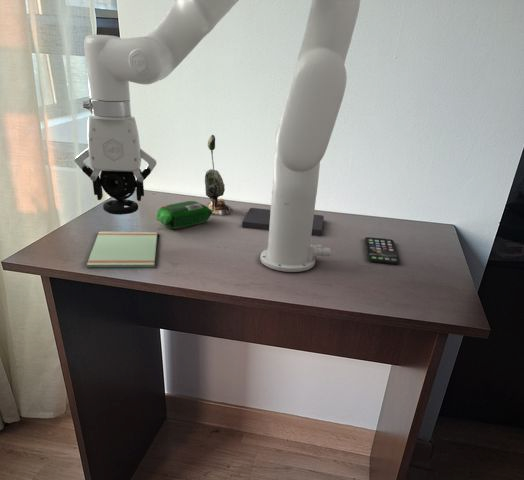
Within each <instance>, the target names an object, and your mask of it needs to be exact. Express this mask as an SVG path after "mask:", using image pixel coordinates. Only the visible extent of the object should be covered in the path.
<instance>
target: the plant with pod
mask: <svg viewBox="0 0 524 480" xmlns="http://www.w3.org/2000/svg"><path fill="white" fill-rule="evenodd" d="M207 147H208V150H209V151H210V153H211V154H210V155H211V163H212V168H210V169H209V170H206V169H205V170H204V171H205V175H204V185H205V187H204V188H205V196H206V197H207V198H208V199H210V202H209V203H208V204H207V205H206V206H207V207H208V208H209V209H211V210H212V214H211V215H216V216H222V215H223V216H224V215H226V214H229V213H230V212H231V207H230V205H228V204H226V202H225V200H224V199H223V198H220V197H223V196H224V195H225V194H224V193H225V190H226V188H225V187H226V186H225V185H226V184H225V182H224V179H223V177H222V175H221V173H220V171H218V170H216V169H215V165H214V156H213V154H214V151H215V149H216V136H215V134H211V135H210V136H209V138H208V140H207ZM218 198H219V199H218Z"/></svg>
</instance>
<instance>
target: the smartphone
mask: <svg viewBox="0 0 524 480" xmlns="http://www.w3.org/2000/svg"><path fill="white" fill-rule="evenodd" d="M364 243H365V249H366V254H367V260H368V261H369V262H370V263H381V264H390V265H399V264H400V261H401V260H400V258H399V255H398V251H397V247H396V244H395V241H394V240H393V239H390V238H381V237H370V236H367V237H365V238H364Z"/></svg>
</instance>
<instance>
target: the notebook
mask: <svg viewBox="0 0 524 480" xmlns="http://www.w3.org/2000/svg"><path fill="white" fill-rule="evenodd" d="M270 212H271V209H267V208H257V207H250V208H249V209H248V211H247V213H246V214H245V216H244V218H243V220H242V223H241V227H242V228H246V229H247V228H248V229H257V230H267V231H269V226H270ZM324 219H325V216H324V215H322V214H315V213H314V218H313V226H312V235H311V236H320V237H321V236H322V235H323V234H322V233H323V225H324Z"/></svg>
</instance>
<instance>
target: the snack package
mask: <svg viewBox="0 0 524 480" xmlns="http://www.w3.org/2000/svg"><path fill="white" fill-rule="evenodd" d="M211 215H213V214H212V210H211V209H209V208H208V207H207V205H205V204H203V203H200V202H198V201H195V200H187V201H182V202H176V203H170V204H166V205H163V206H161V207H159V209H158V210H157V213H156V220H157V222H160V223H161V224H162V225H163V226H165V227H167V228H169V229H171V230H179V229H182V228H187V227H192V226H196V225H199V224H204V223H205V222H207V220H208V219H210V217H211Z"/></svg>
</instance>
